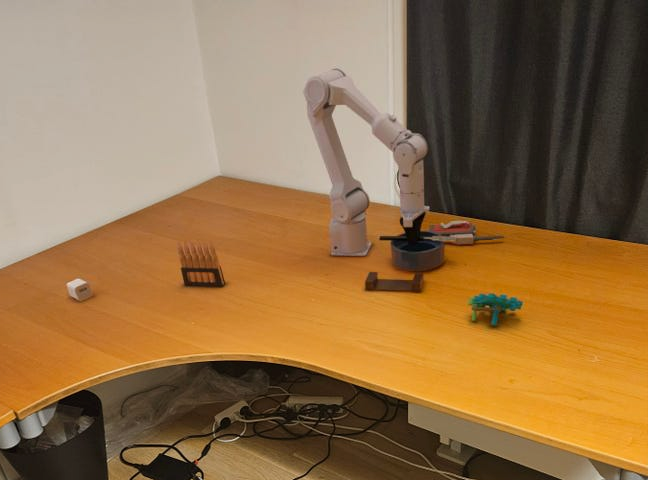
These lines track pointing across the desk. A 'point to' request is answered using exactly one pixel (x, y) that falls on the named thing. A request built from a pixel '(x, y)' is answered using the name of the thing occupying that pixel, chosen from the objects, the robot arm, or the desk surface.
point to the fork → (420, 238)
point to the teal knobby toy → (493, 305)
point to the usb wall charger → (79, 289)
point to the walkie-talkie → (460, 232)
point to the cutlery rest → (394, 283)
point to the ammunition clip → (200, 266)
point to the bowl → (418, 253)
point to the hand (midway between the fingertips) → (413, 243)
